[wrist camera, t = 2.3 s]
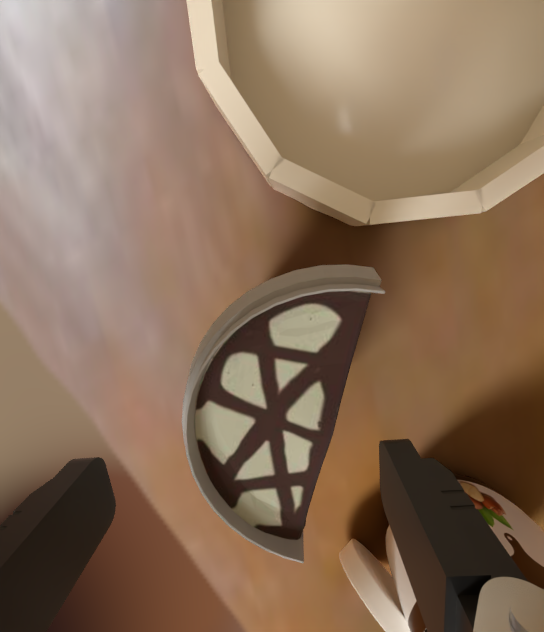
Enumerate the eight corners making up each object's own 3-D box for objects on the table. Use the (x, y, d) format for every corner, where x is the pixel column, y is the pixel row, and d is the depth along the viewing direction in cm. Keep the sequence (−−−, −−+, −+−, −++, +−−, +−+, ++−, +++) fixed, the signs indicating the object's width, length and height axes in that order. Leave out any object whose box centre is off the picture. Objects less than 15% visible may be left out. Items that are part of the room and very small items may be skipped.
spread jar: (536, 498, 23) (774, 754, 12) (454, 601, 26) (583, 887, 14) (385, 438, 22) (483, 647, 11) (319, 551, 25) (343, 808, 14)
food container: (241, 233, 19) (191, 232, 10) (339, 254, 19) (390, 274, 10) (210, 409, 22) (151, 541, 13) (295, 427, 22) (300, 573, 13)
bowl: (623, -274, 13) (782, -516, 9) (565, 204, 18) (652, 195, 14) (181, -180, 15) (138, -349, 10) (235, 239, 19) (219, 240, 15)
